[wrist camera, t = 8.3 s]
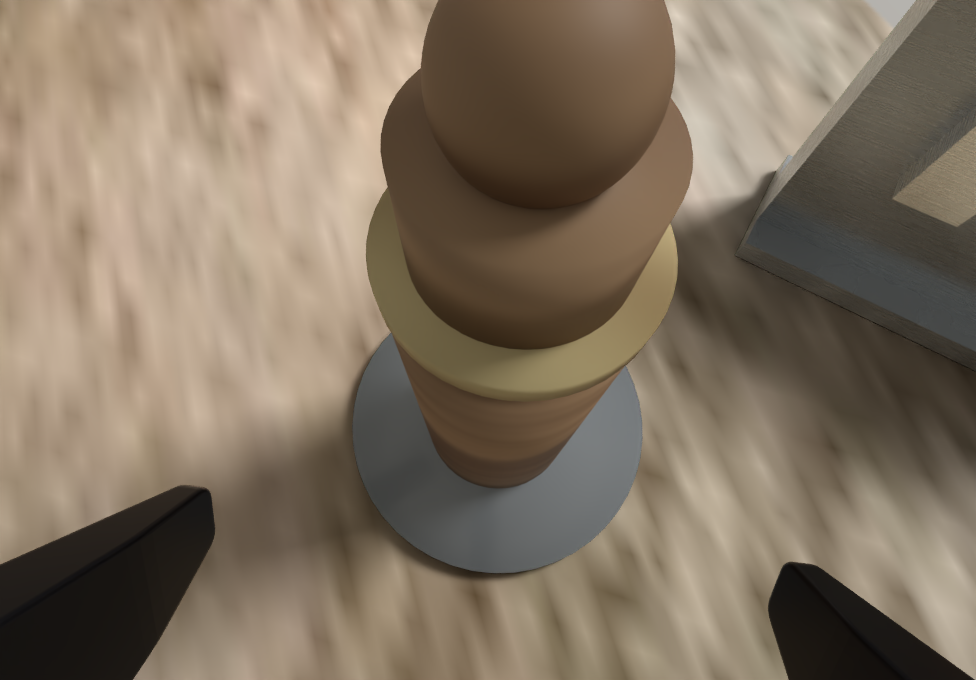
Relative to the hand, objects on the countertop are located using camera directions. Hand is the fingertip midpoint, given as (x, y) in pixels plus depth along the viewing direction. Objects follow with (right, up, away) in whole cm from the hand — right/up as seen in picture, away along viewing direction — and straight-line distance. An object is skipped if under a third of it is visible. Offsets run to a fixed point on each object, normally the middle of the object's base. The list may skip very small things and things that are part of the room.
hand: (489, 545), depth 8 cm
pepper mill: (0, 0, +11) cm, 11 cm away
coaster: (0, 0, +12) cm, 12 cm away
